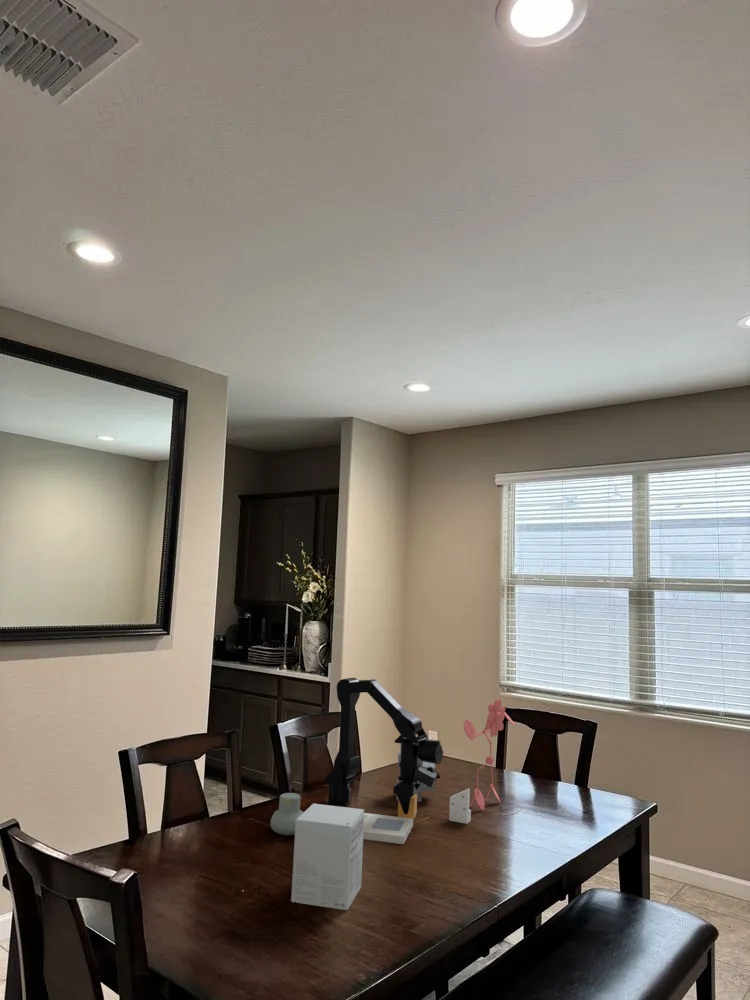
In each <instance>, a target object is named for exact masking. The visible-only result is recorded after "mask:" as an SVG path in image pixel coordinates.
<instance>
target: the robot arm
mask: <svg viewBox="0 0 750 1000" xmlns="http://www.w3.org/2000/svg"><path fill="white" fill-rule="evenodd" d="M361 693H367V694H368V695H369V696H370V697H371V698H372V699H373V700H374V701H375V703H377V704H378V705H379V706H380V707H381V708H382V710H383V711H385V713H386V714H387V715H388V716H389V717H390V719H391V720H392V721H393V725H394V727H395V729H396V731H398V734H400V735H398V737H397V738H396V739H395V740H394V743H396V744H400V749H401V751H400V762H399V767H400V768H399V776H398V777H397V778H398V779H397V780H399V781H398V782H397V781H396V783H395V784H394V785H393V792H392V794H393V795H396V798H397V797H398V799H399V800H398V801H400V804H401V807H402V809H403V812H404V814H408V810H409V805H410V800H411V797H412V796H414V795H415V793H416V792H415V790H416V789H417V788H419V786H420V784H417V782H418V781H419V782H421V783H423V784H425V785H427V786H428V787H432V785H433V783H434V781H435V778H436V773H437V772H436V773H435V774H434V768H433V767H431V766H429V767H428V768H427V769H425V768H421V767H420V763H419V761H418V759H420V760H421V761H423V762H428V763H434V764H435V765H440V764H441V762H442V761H443V757H444V751H443V747H442V745H441V740H437V739H434V740H433V739H429V737H428V734H427V733H426V731H425V730H424V728H423V722H422V721H421V719H420V718H419V717H418V716H416V715H415V714H414V713H412V712H411V711H408V710H407V709H405V708H403V707H402V706H401V705H400V704H399V703H398V702H397V701H396V699H394V698H393V697H392V695H390V694H389V693H388V691H387V690H386V689H385V688H384V687H383V686H381V684H380V683H379V681H378V680H376V679H372V678H371V679H360V680H359V679H357V677H347V678H342V679H340V680H339V681H338V682H337V683H336V695H337V696H336V697H337V701H338V702H339V706H340V714H339V715H340V717H339V718H340V719H339V737H338V738H339V741H338V743H339V744H338V752H337V754H336V756H335V758H334V762H333V766H332V770H331V771H330V772H329V773H328V774H327V775H326V776H325V782H326V785H328V797H327V798H328V799H327V801H326V805H335V806H347V805H348V804H349V802H351V799H352V797H351V795H352V786H351V787H350V785H351V782H352V781H353V779H354V776H356V774H358V770H359V769H361V768H360V758H361V757H360V755H356V753H355V749H354V746H355V741H354V740H355V722H356V721H355V719H356V706H357V703H358V701H359V698H360V695H361ZM436 779H437V778H436ZM401 781H402V782H401Z"/></svg>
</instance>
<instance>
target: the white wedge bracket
mask: <svg viewBox="0 0 750 1000" xmlns="http://www.w3.org/2000/svg"><path fill="white" fill-rule="evenodd" d="M470 791H471V789H470V787H469V788H466V789H465V790H463V791H460V792H457V793H455V794H454V795H451V796H450V797H449V810H448V811H449V815H448V817H449V819H448V820H449V821H450V822H456V823H461V824H467V825H468V823H470V822H471V820H472V819H471V818H472V809H470V798H471V796H470V795H471V794H470V793H471V792H470ZM449 821H448V822H449Z"/></svg>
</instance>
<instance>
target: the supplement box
mask: <svg viewBox="0 0 750 1000" xmlns="http://www.w3.org/2000/svg"><path fill="white" fill-rule="evenodd" d="M303 812H304V813H303V814H302V815H300V816H299V817H298V818H297V819H296V821H295V835H294V841H293V842H294V846H293V861H292V862H293V863H292V865H293V867H292V877H291V878H292V879H291V880H292V881H291V882H292V883H291V897H290V901H291V902H290V903H295V902H296V904H297V903H298V904H304V905H310V906H316V907H323V908H327V909H330V908H331V909H336V910H341V911H348V909H349V908H350V907H351V904H353V902H354V900H355V898H356V896H357V895H358V894H359V892H360V890H361V888H362V878H363V877H362V874H363V873H362V872H363V871H362V870H363V848H364V839H363V829H364V813H365V809H363V808H355V807H348V806H347V807H346V806H339V805H330V804H319V803H312V804H311V805H310V806H309V807H308V808H307V809H306V810H305V811H303Z"/></svg>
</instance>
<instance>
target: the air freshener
mask: <svg viewBox="0 0 750 1000" xmlns="http://www.w3.org/2000/svg"><path fill="white" fill-rule="evenodd" d="M278 804H279V805H278V809H277V810H275V811H274V812H273V814H272V816H271V819H270V828H271V830H272V831H273V832H275V833H277V834H278V835H282V836H295V821H296V819H297V818H298V817H299V816H300V815H302V814H303V813H304V812H305V811H303V810H301V809H300V808H301V795H299V794H298V793H296V792H295V793H294V792H285V793H282V794H280V795H279V802H278Z"/></svg>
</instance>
